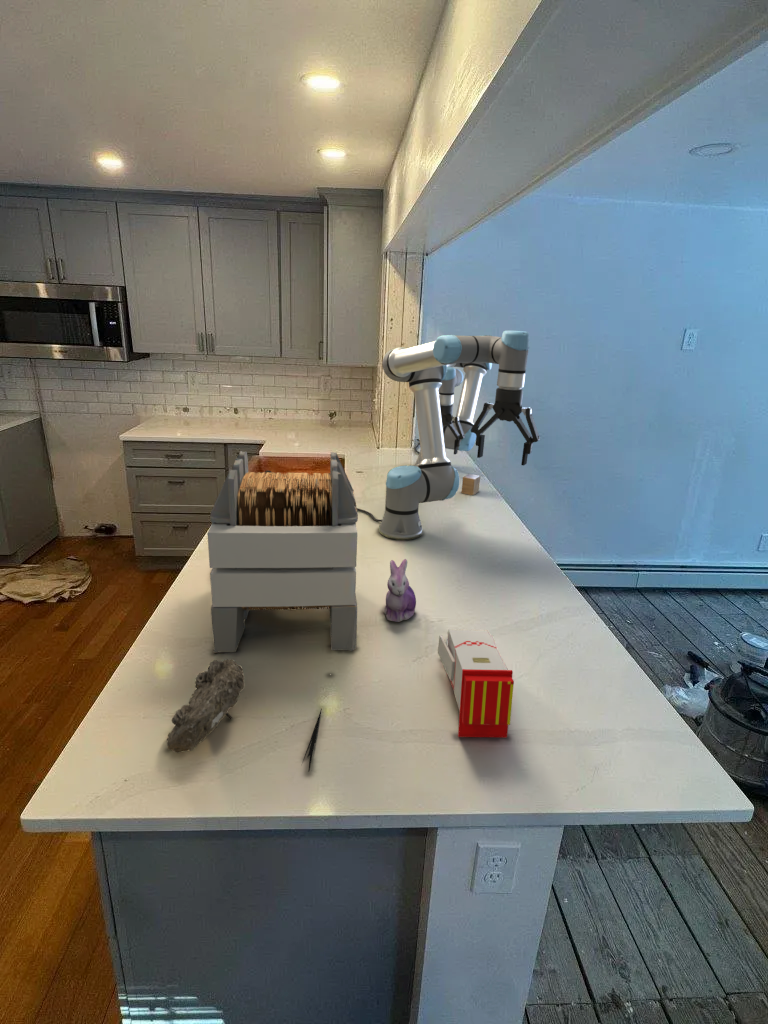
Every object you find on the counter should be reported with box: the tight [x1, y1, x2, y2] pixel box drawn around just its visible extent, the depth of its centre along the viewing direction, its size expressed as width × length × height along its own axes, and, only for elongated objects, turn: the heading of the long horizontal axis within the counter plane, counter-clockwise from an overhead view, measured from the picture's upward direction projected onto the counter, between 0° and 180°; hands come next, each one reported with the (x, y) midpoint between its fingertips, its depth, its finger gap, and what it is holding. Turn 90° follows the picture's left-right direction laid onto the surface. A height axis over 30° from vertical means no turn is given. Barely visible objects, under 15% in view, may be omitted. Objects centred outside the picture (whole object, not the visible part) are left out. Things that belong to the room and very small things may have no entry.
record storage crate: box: [206, 450, 359, 654], centre depth 137 cm, size 34×33×41 cm
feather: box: [301, 673, 332, 771], centre depth 108 cm, size 2×28×2 cm
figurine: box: [384, 558, 417, 623], centre depth 145 cm, size 9×10×15 cm
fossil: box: [166, 658, 245, 754], centre depth 106 cm, size 22×10×15 cm
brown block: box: [461, 473, 481, 496], centre depth 248 cm, size 7×5×7 cm
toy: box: [437, 628, 515, 738], centre depth 117 cm, size 12×13×30 cm
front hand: (501, 460), depth 168 cm, fingers open, 13 cm apart
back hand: (441, 451), depth 253 cm, fingers open, 13 cm apart
